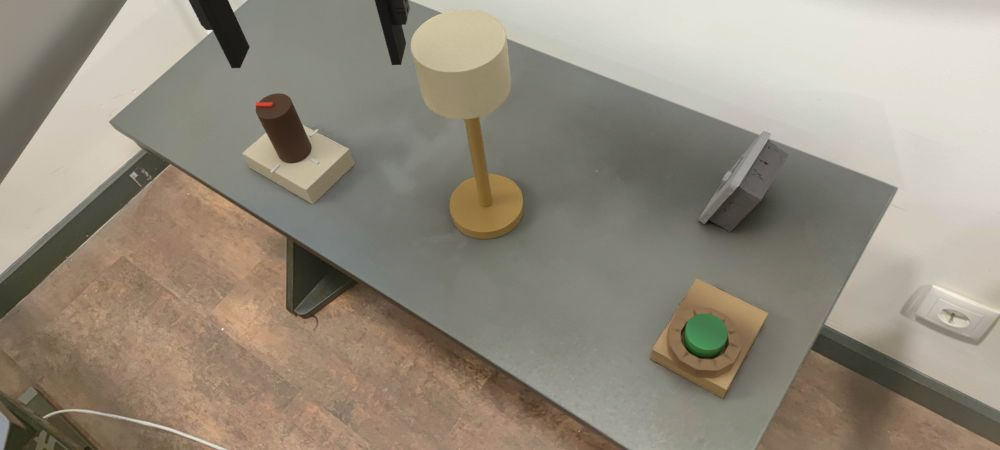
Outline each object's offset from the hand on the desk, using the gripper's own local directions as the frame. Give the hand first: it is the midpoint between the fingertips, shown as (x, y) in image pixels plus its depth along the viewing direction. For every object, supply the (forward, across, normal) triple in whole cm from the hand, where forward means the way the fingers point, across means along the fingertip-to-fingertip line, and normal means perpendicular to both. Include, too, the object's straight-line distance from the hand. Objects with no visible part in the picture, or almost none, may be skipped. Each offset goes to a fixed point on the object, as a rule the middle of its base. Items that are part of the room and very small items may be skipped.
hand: (319, 56), depth 58 cm
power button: (+27, +34, -11) cm, 45 cm away
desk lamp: (+31, +10, +8) cm, 33 cm away
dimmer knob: (+28, -15, +15) cm, 35 cm away
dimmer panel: (+31, -15, +15) cm, 37 cm away
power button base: (+31, +35, -9) cm, 47 cm away
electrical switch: (+31, +40, +9) cm, 51 cm away
